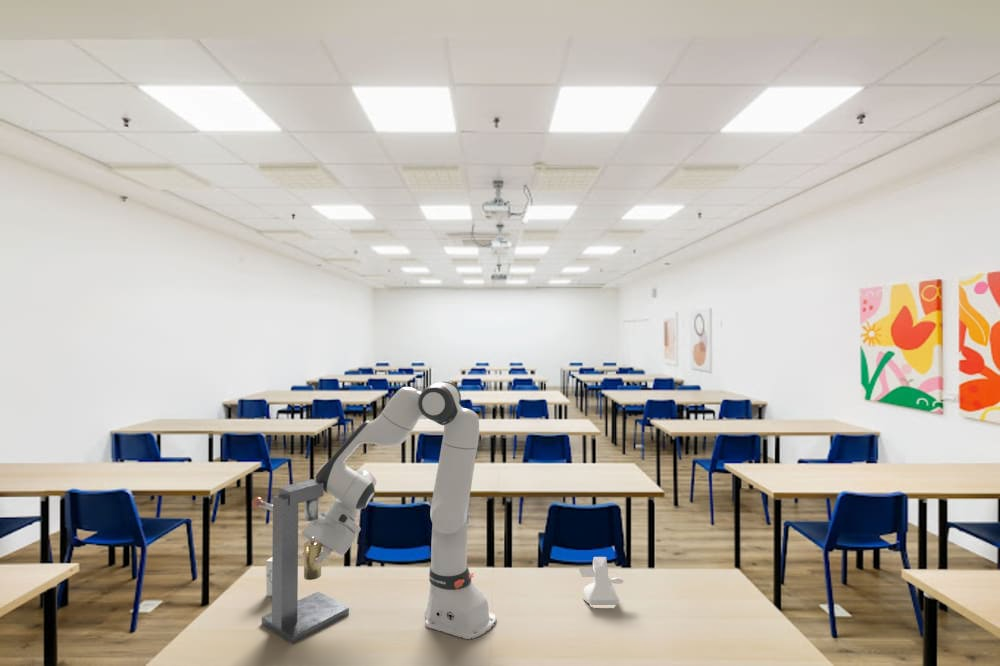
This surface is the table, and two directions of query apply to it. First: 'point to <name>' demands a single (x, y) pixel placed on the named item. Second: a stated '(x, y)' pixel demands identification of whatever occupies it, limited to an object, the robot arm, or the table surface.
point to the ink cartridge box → (269, 576)
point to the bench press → (295, 567)
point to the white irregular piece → (600, 584)
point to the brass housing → (312, 559)
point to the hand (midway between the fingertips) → (311, 559)
